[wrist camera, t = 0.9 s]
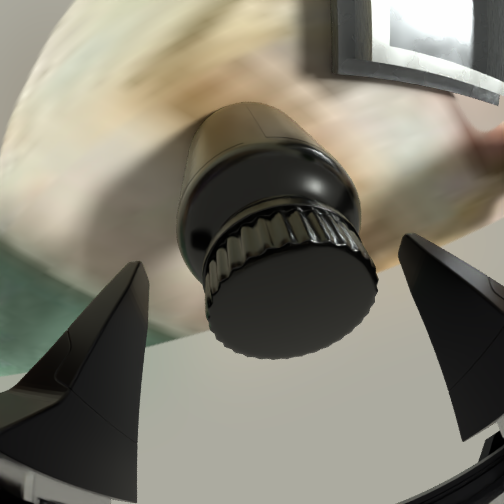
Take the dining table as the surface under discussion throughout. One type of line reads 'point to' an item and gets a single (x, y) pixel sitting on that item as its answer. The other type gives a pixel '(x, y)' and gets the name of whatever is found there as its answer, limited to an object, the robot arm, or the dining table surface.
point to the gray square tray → (423, 43)
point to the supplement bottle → (272, 235)
